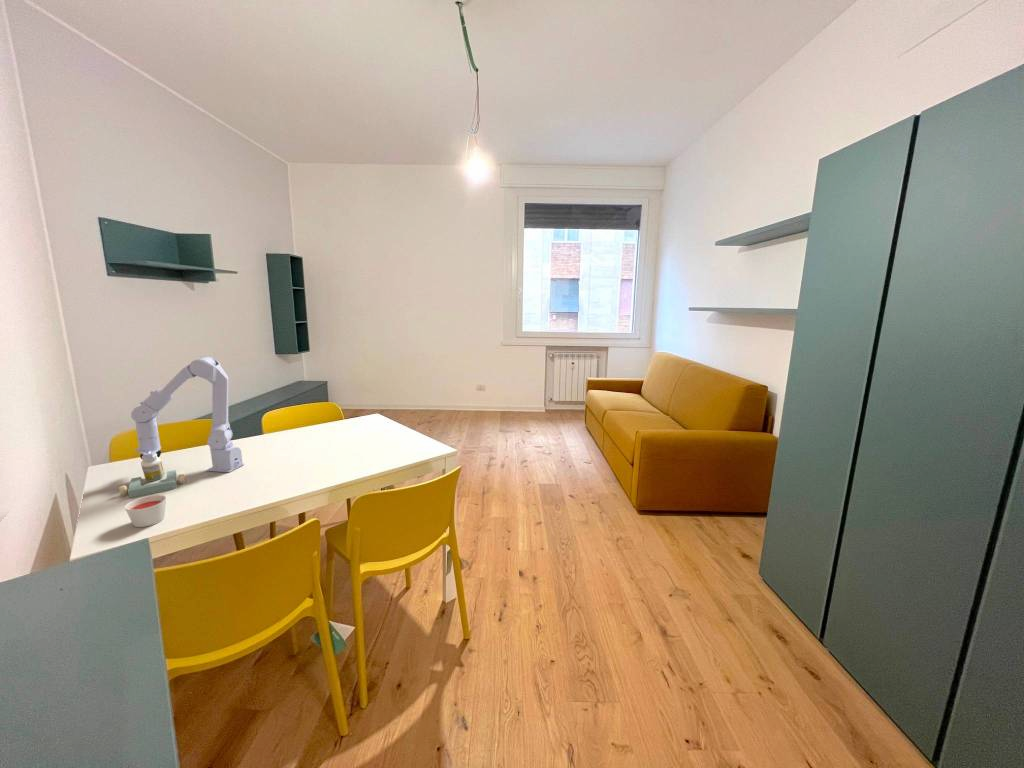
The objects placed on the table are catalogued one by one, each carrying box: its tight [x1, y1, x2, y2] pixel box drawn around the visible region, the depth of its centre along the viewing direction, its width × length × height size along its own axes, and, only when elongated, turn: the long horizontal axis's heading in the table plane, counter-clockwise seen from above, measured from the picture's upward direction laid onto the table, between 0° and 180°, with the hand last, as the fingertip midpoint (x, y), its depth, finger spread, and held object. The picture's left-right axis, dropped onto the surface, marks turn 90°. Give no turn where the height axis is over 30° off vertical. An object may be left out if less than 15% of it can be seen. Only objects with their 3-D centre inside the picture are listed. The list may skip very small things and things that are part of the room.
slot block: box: [118, 469, 186, 499], centre depth 139 cm, size 12×17×3 cm
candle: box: [124, 494, 167, 528], centre depth 117 cm, size 9×9×6 cm
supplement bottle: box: [140, 453, 165, 482], centre depth 143 cm, size 5×5×10 cm
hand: (153, 471), depth 146 cm, fingers closed, pressing on supplement bottle
